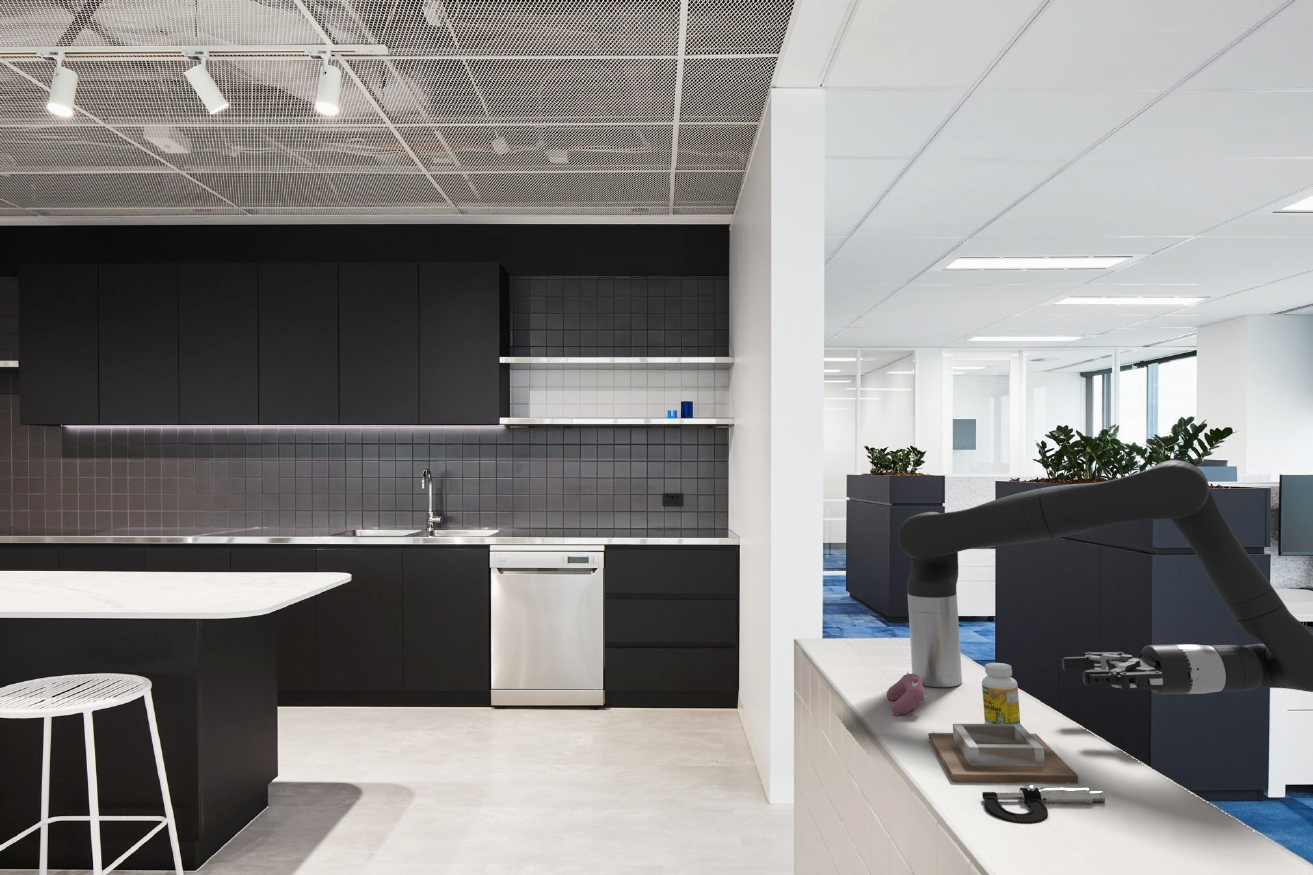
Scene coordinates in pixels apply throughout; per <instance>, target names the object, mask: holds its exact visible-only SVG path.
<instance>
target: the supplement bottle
mask: <svg viewBox="0 0 1313 875" xmlns="http://www.w3.org/2000/svg"><path fill="white" fill-rule="evenodd" d="M984 667H985V668H984V670H985V671H984V672H985V674H986V675H987V676H985V677H983V678H982V680H981V688H982V700H983V701H982V702H983V714H984V715H983V716H984V724H1021V714H1020V712H1021V710H1020V699H1019V688H1018V686H1019V685H1018V682H1017V680H1016V679H1015V678H1013V677H1012V675H1013V669H1012V666H1011V665H1010V664H1007V663H1003V662H1002V663H1001V662H990V663H989V662H988V663H986V664H985V665H984Z"/></svg>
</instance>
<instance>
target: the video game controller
mask: <svg viewBox="0 0 1313 875" xmlns="http://www.w3.org/2000/svg"><path fill="white" fill-rule="evenodd" d="M924 693H925V687H924V685H922V679H921V677H920V676H918V675H916V674H912V673H909V671H907V672H906V674H904V675H903V676H902V677H901V678H900V679H899V680H898V681H897V682H896V683H894V684H893V685H891V686H890V687H889V688H888V690H887V691H886V698H887V699H888V700H889V699H891V700H890V701H894V702H893V704H892V706H891V712H892V713H893V715H895V714H899V715H898V716H902V715H906V714H908V713H910V712H913V711H914V709H915V708H916V707H917V706H919V704H920V703H921V702H924V701H925V699H926V694H924Z"/></svg>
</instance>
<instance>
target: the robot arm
mask: <svg viewBox="0 0 1313 875" xmlns="http://www.w3.org/2000/svg"><path fill="white" fill-rule="evenodd" d="M1215 501H1216V500H1215V498H1214V497H1213V494H1212V491H1211V489H1210V486H1209V481H1208V479H1207V477H1206V475H1205V473H1203V471H1202V470H1201V469H1199V467H1197V466H1196V465H1194V464H1192V463H1190V462H1188V461H1184V460H1178V459H1177V460H1176V459H1172V460H1171V459H1170V460H1165V461H1162V462H1160V463H1157V464H1156V465H1154V466H1153V467H1151V468H1148V469H1146V470H1143V471H1139V472H1136V473H1133V474H1130V475H1126V476H1123V477H1118V478H1116V479H1115V478H1114V479H1111V480H1106V481H1101V482H1091V483H1090V482H1089V483H1074V484H1063V485H1054V486H1053V485H1052V486H1046V487H1041V488H1036V489H1031V490H1027V491H1022V492H1018V493H1014V494H1011V495H1008V496H1004V497H1001V498H997V499H994V500H991V501H987V502H985V503H982V504H979V505H976V506H974V507H970V508H966V509H962V510H956V511H948V512H942V513H941V512H936V511H925V512H921V513H918V514H915V515H912V516H909V517H908V518H907V519H906V520H905V521H904V522H903V523H902V525H901V526H900V527H899V531H898V534H897V542H898V545H899V547H900V549H901V550H902V552H903V553H904V554H906V556H908V557H910V558H911V567H910V568H911V569H910V571H909V572H910V573H909V576H908V577H907V580H906V590H907V605H908V606H907V608H908V621H909V622H908V623H909V638H910V640H909V641H910V655H911V658H910V659H911V672H912V673H911V674H916V675H918V676H920V677H921V679H922V686H925V687H933V688H950V687H957V686H960V685H961V684H962V683H963V674H962V658H961V657H962V656H961V642H960V641H961V639H960V626H959V624H960V623H959V609H958V595H957V593H958V592H957V583H958V579H959V552H962V551H965V550H971V549H975V548H977V549H978V548H983V547H999V546H1012V545H1021V544H1028V543H1036V542H1042V541H1048V540H1053V539H1060V538H1064V537H1069V536H1073V535H1077V534H1082V533H1086V532H1090V531H1093V530H1097V529H1100V528H1104V527H1108V526H1111V525H1116V524H1124V523H1131V522H1141V521H1152V520H1153V521H1154V520H1156V521H1157V520H1170V521H1171V522H1172V523H1173V524H1174V526H1175V528H1177V529H1178V530H1179V532H1180V533H1181V534H1182V535H1183V537H1184V539H1186V541H1187V543H1188V545H1190V548H1192V550H1193V551H1194V554H1195V555H1196V557H1197V558H1198V560H1199V563H1200V564H1201V566H1202V568H1203V570H1204V571H1205V573H1206V576H1207V577H1208V579H1209V581H1210V582H1211V584H1212V587H1213V589H1214V590H1215V592H1216V593H1217V595H1218V596H1219V598H1220V599H1221V601H1222V603H1223V604H1224V605H1225V608H1227V610H1228V611H1229V614H1230V615H1231V616H1232V618H1233V619H1234V620H1235V622H1236V624H1237V625H1238V626H1239V628H1240V629H1241V630H1242V631H1243V632H1244V633H1245V634H1247V635H1249V636H1251V637H1253V638H1255V639H1257V640H1259V641H1260V642H1261V643H1256V644H1247V645H1238V644H1237V645H1236V644H1221V645H1220V644H1219V645H1218V644H1215V645H1212V644H1211V645H1210V644H1209V645H1205V644H1204V645H1203V644H1193V643H1192V644H1191V643H1189V644H1188V643H1187V644H1183V643H1182V644H1149V645H1145V646H1144V647H1143V648H1142V649H1141V651H1140V654H1139V656H1138V657H1133V655H1131V654H1125V652H1122V651H1118V652H1117V651H1111V652H1110V651H1109V652H1108V651H1107V652H1105V651H1103V652H1098V651H1097V652H1093V651H1092V652H1091V651H1088V652H1084V654H1085V656H1071V657H1070V656H1068V657H1067V656H1065V657H1063V658H1062V659H1061V663H1062V664H1061V665H1062V670H1063V671H1065V672H1068V673H1069V672H1082V681H1083V684H1084V685H1086V686H1087V687H1104V686H1105V687H1106V686H1108V687H1109V686H1111V687H1113V688H1114V689H1115V688H1116V689H1118V688H1120V689H1121V691H1123V692H1129V691H1131V692H1132V691H1133V692H1134V691H1151V692H1152V693H1154V694H1156V695H1196V694H1197V695H1199V694H1203V695H1204V694H1209V693H1217V692H1218V693H1219V692H1248V691H1253V690H1256V689H1259V688H1260V689H1287V690H1295V691H1296V690H1297V691H1303V692H1309V693H1313V633H1312V632H1311V631H1310V630H1309V629H1308V628H1307V626H1305V625H1304V624H1303V623H1302V622H1301V621H1300V620H1299V619H1297V618H1296V617H1295V616H1294V615H1293V614H1292V613H1291V612H1290V610H1289V609H1288V607H1287V606H1286V604H1285V603H1284V601H1283V600H1282V599H1281V597H1280V595H1279V594H1278V593H1277V591H1276V590H1275V589H1274V587H1273V585H1272V584H1271V583H1270V582H1269V580H1268V579H1267V577H1266V576H1265V575H1264V573H1263V572H1262V571H1261V569H1260V568H1259V567H1258V565H1257V563H1256V562H1255V561H1254V560H1253V559H1252V558H1251V556H1250V555H1249V553H1248V552H1247V551H1246V549H1245V548H1244V547H1243V546H1242V544H1241V543H1240V541H1239V540H1238V539H1237V537H1236V536H1235V534H1234V533H1233V531H1232V529H1231V528H1230V527H1229V525H1228V524H1227V522H1226V520H1225V518H1224V517H1223V514H1222V513H1221V511H1220V510H1219V508H1218V505H1217V503H1216V502H1215ZM1095 661H1098V662H1100V663H1095Z"/></svg>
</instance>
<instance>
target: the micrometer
mask: <svg viewBox="0 0 1313 875" xmlns="http://www.w3.org/2000/svg"><path fill="white" fill-rule="evenodd" d="M981 794H982V799H983V802H984V808H985V810H986V812H987V813H988V814H989V815H991V816H993V817H994V818H997V819H999V820H1001V821H1005V822H1008V823H1013V824H1014V823H1015V824H1025V825H1026V824H1027V825H1032V824H1038V823H1039V824H1040V823H1041V822H1044V821H1046V820H1047V819H1048V817H1049V811H1048V810H1049V809H1048V808H1047V806H1046V805H1060V806H1061V805H1062V806H1063V805H1065V806H1066V805H1093V802H1100V803H1105V802H1106V795H1105V793H1104V791H1103V790H1096V791H1095V790H1093V791H1091V790H1090V789H1089V788H1088V786H1083V787H1082V786H1079V787H1062V786H1057V787H1040V788H1038V787H1036V786H1035V785H1033V784H1031V783H1027V784H1025V785H1024V787H1020V788H1019V791H1018V792H997V791H983V792H982V793H981ZM1002 800H1003V801H1016V800H1017V801H1021V802H1022V803H1023V804H1024V805H1026V806H1027V807H1028V809H1029V811H1028V812H1025V813H1016V812H1012V811H1010V810H1007V809H1006V808H1004V807H1003V806H1002V804H1001V803H1000V801H1002Z"/></svg>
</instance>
